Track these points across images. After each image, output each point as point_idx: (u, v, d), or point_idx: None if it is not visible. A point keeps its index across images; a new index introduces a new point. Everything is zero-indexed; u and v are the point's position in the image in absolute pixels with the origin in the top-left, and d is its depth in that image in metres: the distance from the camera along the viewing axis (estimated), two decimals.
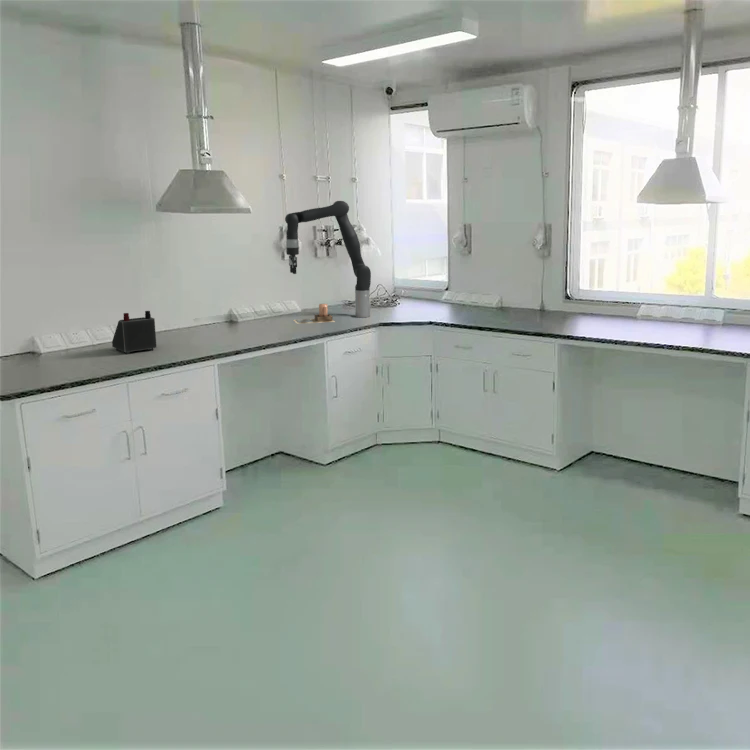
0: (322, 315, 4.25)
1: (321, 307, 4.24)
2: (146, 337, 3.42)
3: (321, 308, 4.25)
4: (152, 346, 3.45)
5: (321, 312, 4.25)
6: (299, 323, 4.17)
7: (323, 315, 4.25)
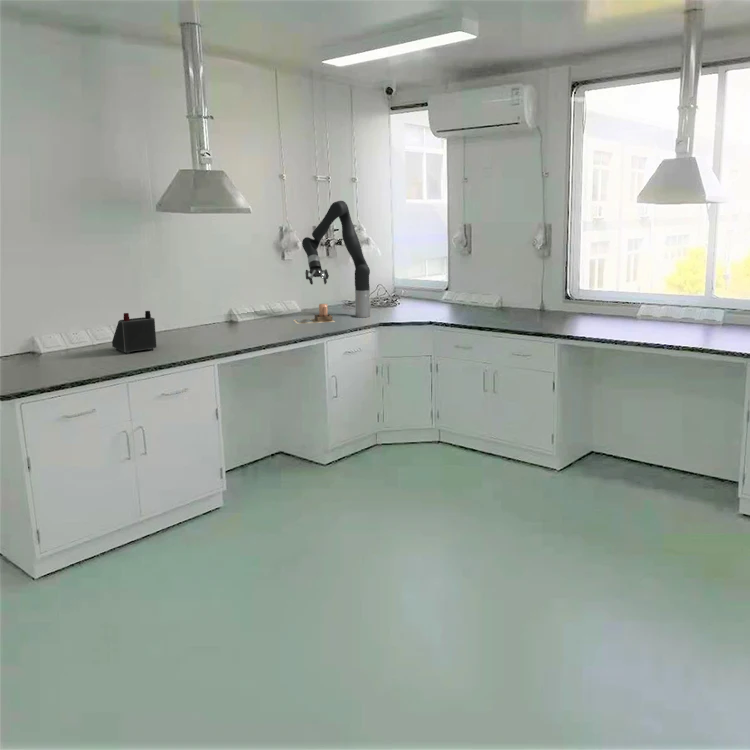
0: (322, 315, 4.25)
1: (321, 307, 4.24)
2: (146, 337, 3.42)
3: (321, 308, 4.25)
4: (152, 346, 3.45)
5: (321, 312, 4.25)
6: (299, 323, 4.17)
7: (323, 315, 4.25)
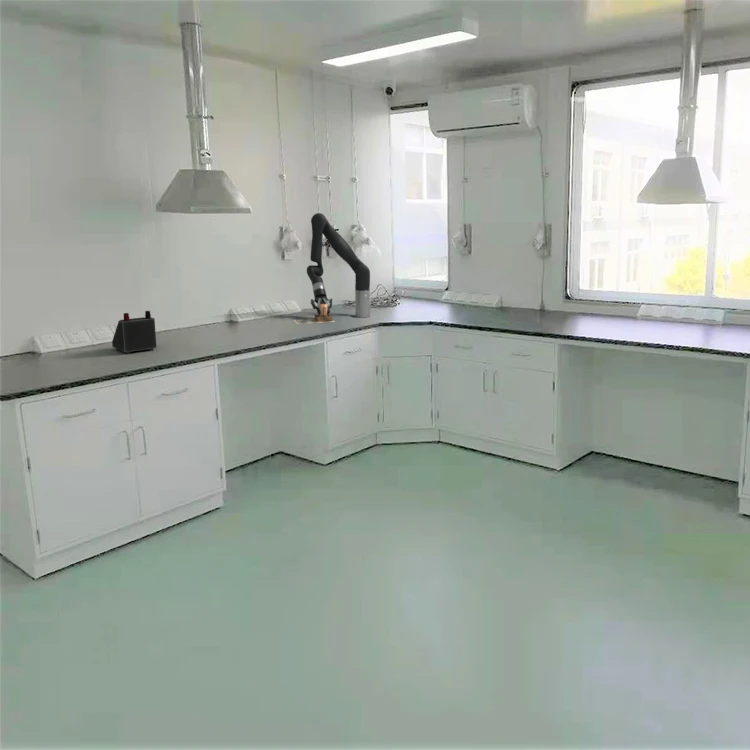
0: (322, 315, 4.25)
1: (321, 307, 4.24)
2: (146, 337, 3.42)
3: (321, 308, 4.25)
4: (152, 346, 3.45)
5: (321, 312, 4.25)
6: (299, 323, 4.17)
7: (323, 315, 4.25)
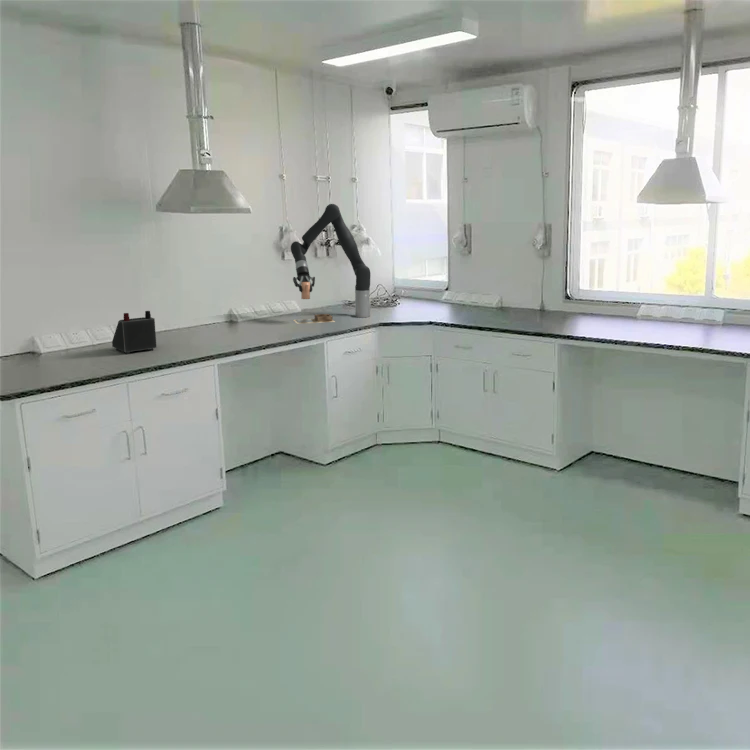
0: (304, 293, 4.19)
1: (303, 285, 4.18)
2: (146, 337, 3.42)
3: (303, 286, 4.18)
4: (152, 346, 3.45)
5: (303, 290, 4.19)
6: (299, 323, 4.17)
7: (305, 293, 4.19)
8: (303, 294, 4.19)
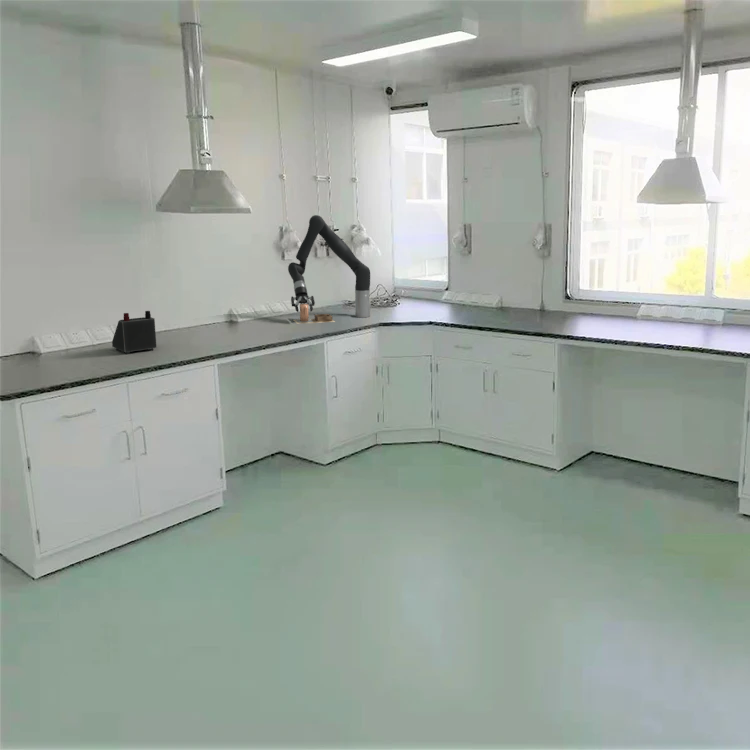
0: (303, 315, 4.22)
1: (302, 307, 4.21)
2: (146, 337, 3.42)
3: (302, 308, 4.21)
4: (152, 346, 3.45)
5: (302, 312, 4.22)
6: (299, 323, 4.17)
7: (304, 315, 4.22)
8: (302, 316, 4.22)
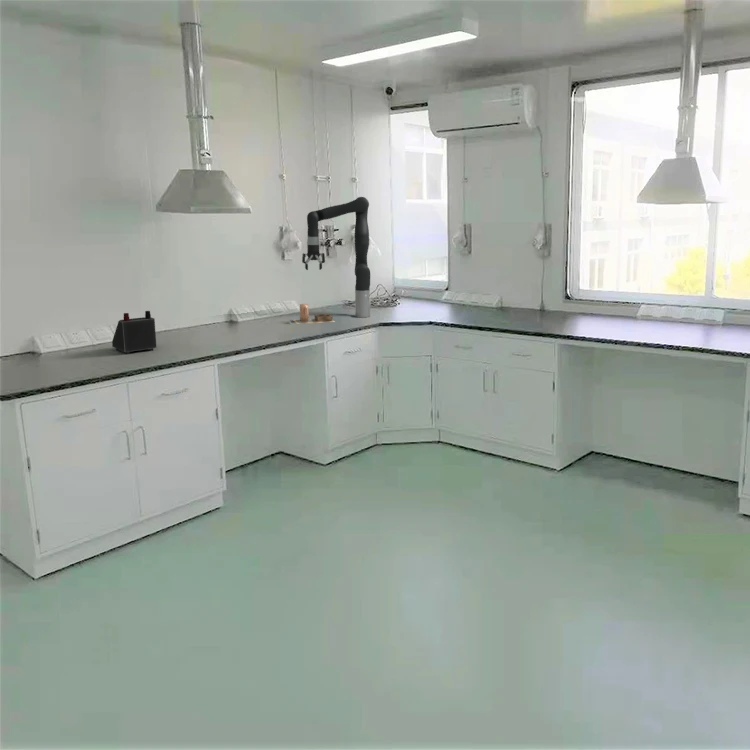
0: (303, 315, 4.22)
1: (302, 307, 4.21)
2: (146, 337, 3.42)
3: (302, 308, 4.21)
4: (152, 346, 3.45)
5: (302, 312, 4.22)
6: (299, 323, 4.17)
7: (304, 315, 4.22)
8: (302, 316, 4.22)
